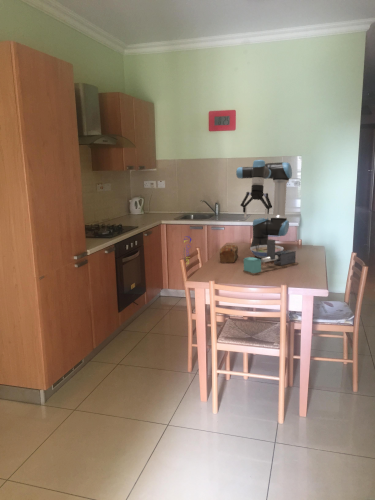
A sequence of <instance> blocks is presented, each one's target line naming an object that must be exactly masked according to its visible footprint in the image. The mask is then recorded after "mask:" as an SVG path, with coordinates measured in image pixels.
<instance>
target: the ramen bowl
mask: <svg viewBox="0 0 375 500" xmlns="http://www.w3.org/2000/svg"><path fill="white" fill-rule="evenodd" d="M249 249H250V251H251V253H252V254H253V255H254V256H255V258H257V259H262V258H265V257H267V245H259V243H258V246H257V245H256V246H253V247H251V246H250V248H249ZM281 251H285V248H284V247H283V246H280V245H275V253H276V252H281Z"/></svg>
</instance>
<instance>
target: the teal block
mask: <svg viewBox="0 0 375 500" xmlns="http://www.w3.org/2000/svg"><path fill="white" fill-rule="evenodd" d="M261 266H262V262H261V258H258V257H252V256H249V257H244V258H243V270H244V271H248V272H251V273H257V272H261Z"/></svg>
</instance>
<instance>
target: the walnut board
mask: <svg viewBox="0 0 375 500" xmlns="http://www.w3.org/2000/svg"><path fill="white" fill-rule="evenodd" d="M297 265H299V263H298V262H296V261H295V263H292V264H288V265H284V266H278V265H275V264H274V263H270V264H267V265H261V272H257V273H251V272H248V271H244V269H243V271H242V272H243V273H245V274H249V275H251V276H254V275H255V276H256V275H260V274H264V273H268V272H272V271H276V270H281V269H285V268H289V267H294V266H297Z"/></svg>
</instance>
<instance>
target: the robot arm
mask: <svg viewBox="0 0 375 500" xmlns="http://www.w3.org/2000/svg"><path fill="white" fill-rule="evenodd" d="M292 169H293V168H292V166H291V164H290V163H289V162H285V161H284V162H267V163H266V161H265V160H264V159H254V160H253V162H252V166H239V167H237V169H236V172H235V173H236V177H237V178H238V179H251V190H250V191H247V192H246V193H245V196H244V198H243V200H242V201H241V204H240V207H242V213H243V218H244V219H247V212H248V207H247V206H248V205H249V204H251V202H252V201H253V200H254V201H255V200H257V201H260V202H261V203H262V204H263V206H264V207H265V209H264V217H259V218H256V219H253V221H252V240H251V243H250V248H251V247H253V246H256V245H257V246H258V243H259V245H267V240H269V239H270V238H269V236H272V237H273V236H274V237H275V236H276V237H285V236H286V235H287V234H288V231H289V229H290V228H289V227H290V224H289V223H290V222H289V220H288V219H287V217H286V201H287V184H288V182H290V179H291V178H292V177H293V170H292ZM267 179H270V180H272V182H273V183H274V190H273V191H274V193H273V205H272V202H271V200H270V198H269V193H268V192H266V193H264V187H265V185H264V184H265V180H267ZM249 196H251V197H250V198H249V199H248V197H249ZM264 198H265V199H264ZM247 199H248V200H247ZM270 209H273V210H272V213H273V214H272V215H271V217H270V219H269V218H268V215H269V214H270Z"/></svg>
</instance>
